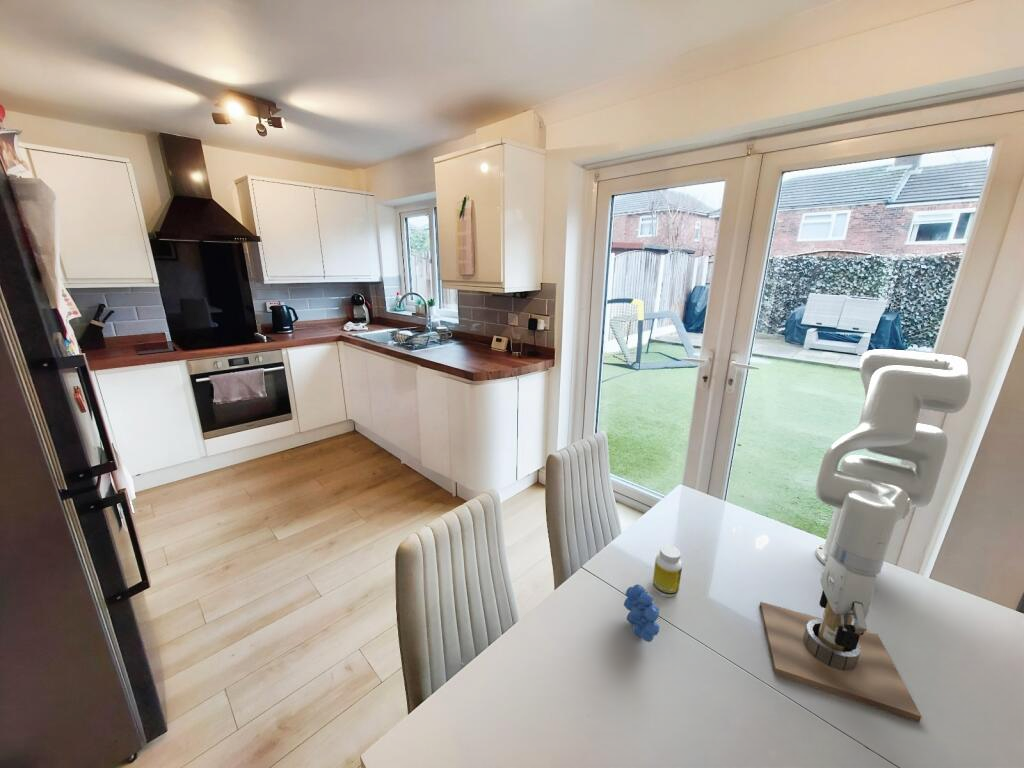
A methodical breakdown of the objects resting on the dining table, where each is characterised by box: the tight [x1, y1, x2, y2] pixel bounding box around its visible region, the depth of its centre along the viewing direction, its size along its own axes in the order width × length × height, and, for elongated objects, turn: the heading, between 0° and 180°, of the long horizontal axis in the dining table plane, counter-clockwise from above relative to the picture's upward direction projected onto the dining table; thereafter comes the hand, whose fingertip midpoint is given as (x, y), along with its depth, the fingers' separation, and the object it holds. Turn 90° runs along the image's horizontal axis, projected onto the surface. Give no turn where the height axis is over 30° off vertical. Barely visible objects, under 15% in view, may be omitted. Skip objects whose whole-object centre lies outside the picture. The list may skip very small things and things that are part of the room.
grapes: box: [623, 583, 660, 643], centre depth 85 cm, size 12×7×12 cm, turn 12°
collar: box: [803, 618, 861, 671], centre depth 81 cm, size 9×9×4 cm
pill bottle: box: [652, 544, 683, 598], centre depth 98 cm, size 6×6×11 cm
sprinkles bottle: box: [818, 602, 854, 652], centre depth 80 cm, size 5×5×13 cm
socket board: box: [758, 601, 922, 723], centre depth 82 cm, size 18×22×2 cm
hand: (836, 626), depth 80 cm, fingers open, 9 cm apart
